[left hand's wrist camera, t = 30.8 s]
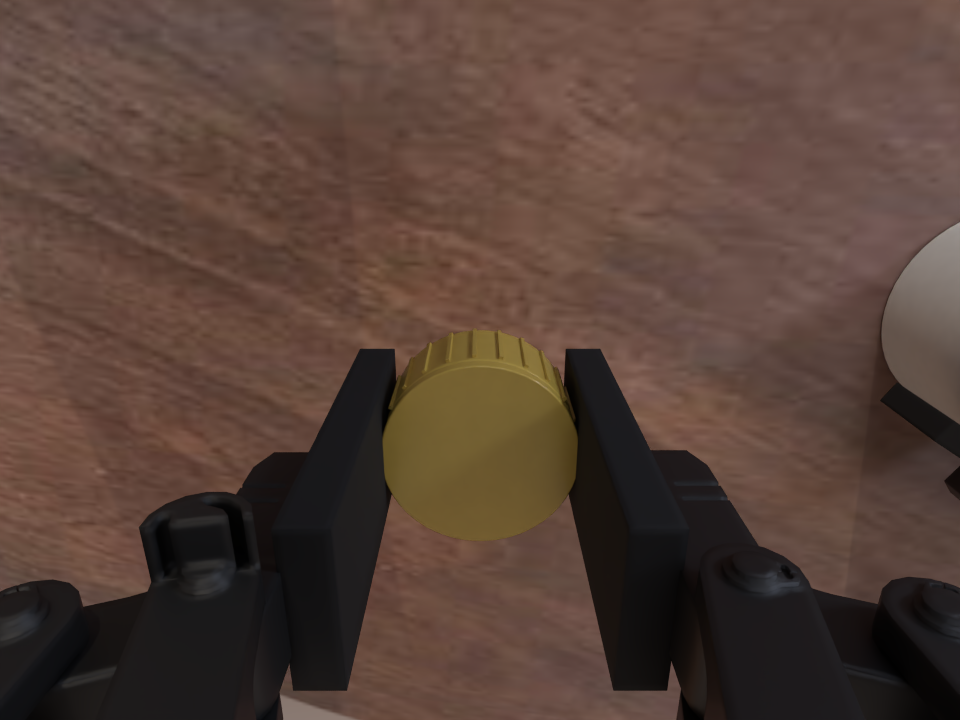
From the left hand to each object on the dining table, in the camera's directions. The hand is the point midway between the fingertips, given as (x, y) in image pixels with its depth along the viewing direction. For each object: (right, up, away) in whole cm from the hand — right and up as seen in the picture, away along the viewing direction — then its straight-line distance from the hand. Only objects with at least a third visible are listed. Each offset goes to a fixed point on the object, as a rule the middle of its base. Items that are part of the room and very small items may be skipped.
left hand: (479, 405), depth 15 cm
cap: (0, -1, -2) cm, 2 cm away
